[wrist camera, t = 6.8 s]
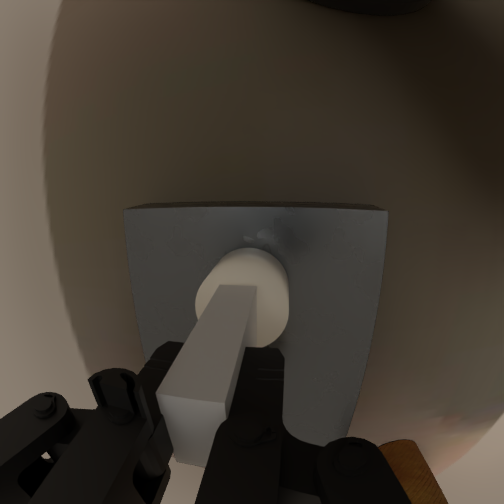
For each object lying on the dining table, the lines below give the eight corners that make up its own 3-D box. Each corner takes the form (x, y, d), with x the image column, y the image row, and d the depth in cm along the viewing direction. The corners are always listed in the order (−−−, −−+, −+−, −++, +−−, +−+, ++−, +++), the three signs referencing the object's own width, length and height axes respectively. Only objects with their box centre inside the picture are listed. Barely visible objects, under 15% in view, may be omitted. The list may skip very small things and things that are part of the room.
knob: (222, 235, 18) (191, 265, 12) (289, 236, 17) (290, 267, 11) (224, 296, 19) (198, 348, 13) (287, 298, 18) (286, 353, 12)
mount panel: (146, 203, 18) (123, 209, 15) (372, 204, 16) (388, 211, 13) (180, 427, 23) (170, 450, 20) (334, 437, 21) (336, 462, 19)
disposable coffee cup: (332, 480, 24) (335, 569, 12) (367, 429, 21) (389, 542, 9) (404, 476, 23) (421, 553, 11) (446, 426, 20) (483, 513, 9)
